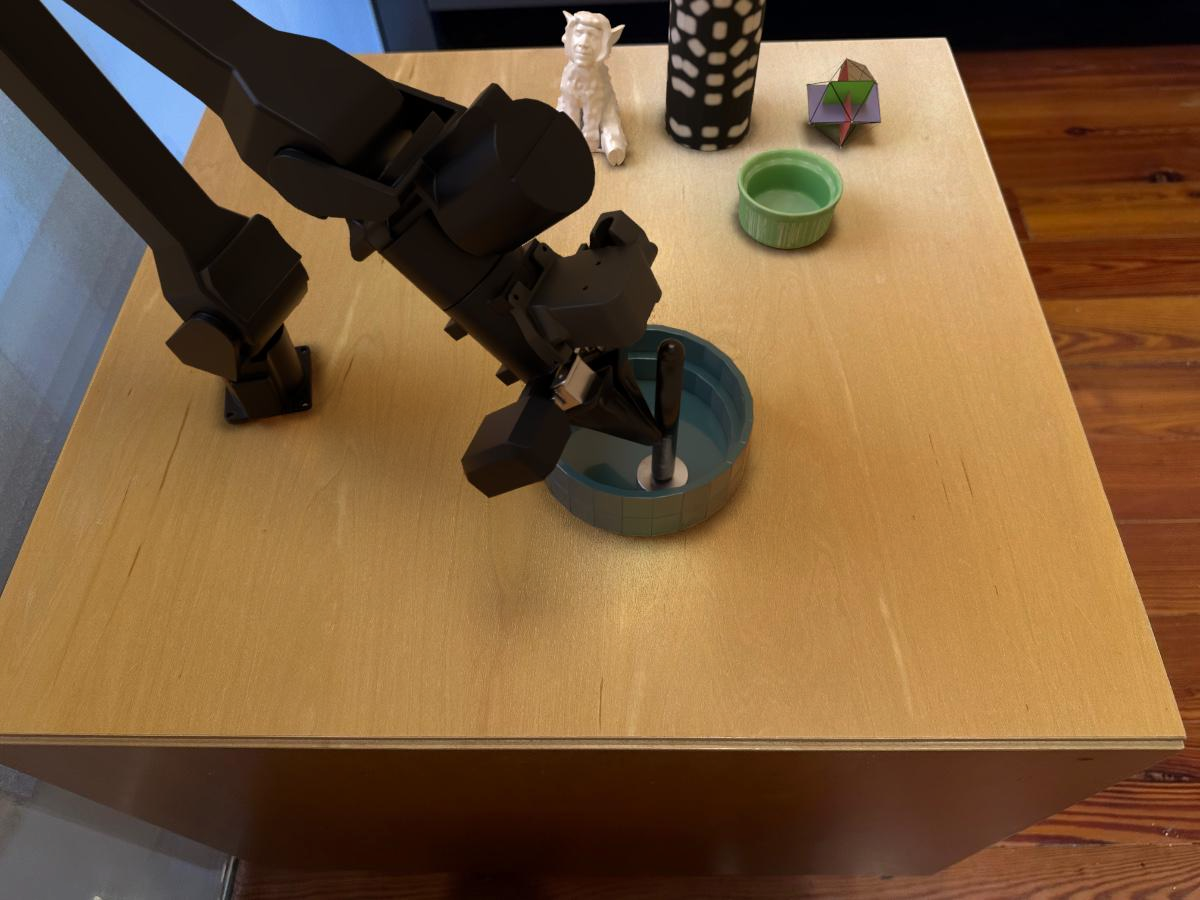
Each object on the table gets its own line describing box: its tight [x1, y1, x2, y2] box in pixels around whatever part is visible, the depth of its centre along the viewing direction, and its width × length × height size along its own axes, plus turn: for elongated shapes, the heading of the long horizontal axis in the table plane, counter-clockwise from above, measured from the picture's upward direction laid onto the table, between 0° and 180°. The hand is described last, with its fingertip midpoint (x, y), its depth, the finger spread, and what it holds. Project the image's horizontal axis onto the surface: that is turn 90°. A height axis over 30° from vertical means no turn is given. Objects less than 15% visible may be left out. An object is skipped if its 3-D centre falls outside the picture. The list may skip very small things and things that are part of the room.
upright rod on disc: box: [636, 339, 689, 491], centre depth 58 cm, size 4×4×15 cm
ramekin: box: [737, 147, 844, 250], centre depth 80 cm, size 9×9×4 cm
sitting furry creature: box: [555, 10, 628, 167], centre depth 85 cm, size 10×9×12 cm
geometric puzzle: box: [806, 57, 883, 149], centre depth 86 cm, size 7×7×8 cm
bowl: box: [543, 323, 755, 538], centre depth 65 cm, size 15×15×6 cm
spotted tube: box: [664, 0, 767, 152], centre depth 82 cm, size 8×8×20 cm
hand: (656, 441), depth 58 cm, fingers closed
